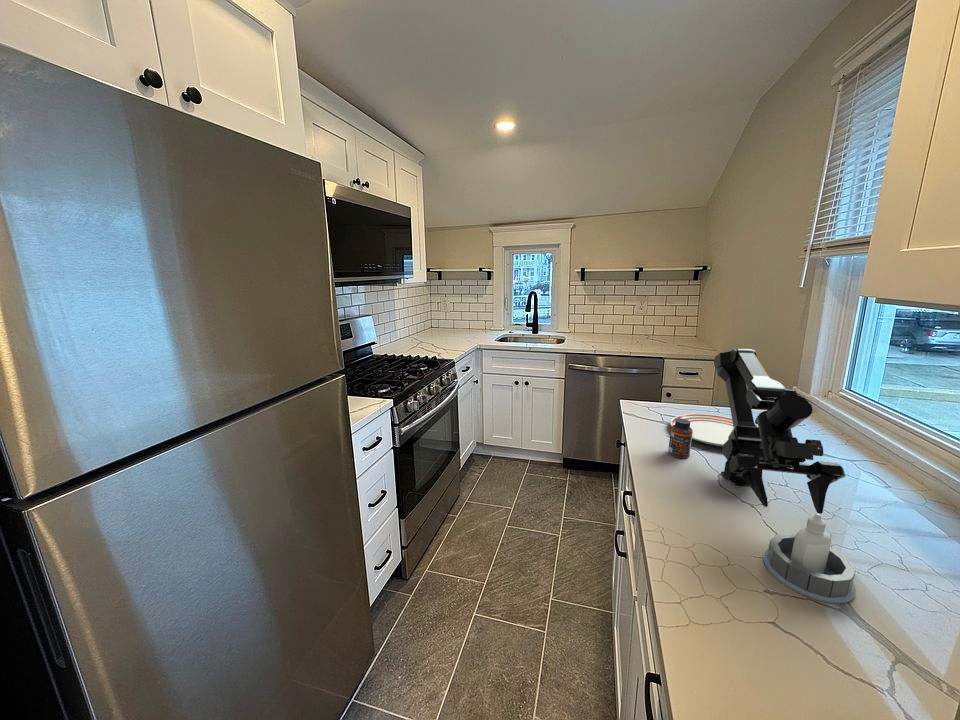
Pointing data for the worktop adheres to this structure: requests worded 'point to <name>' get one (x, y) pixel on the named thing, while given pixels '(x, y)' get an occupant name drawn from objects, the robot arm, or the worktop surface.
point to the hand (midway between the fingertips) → (792, 509)
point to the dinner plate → (708, 427)
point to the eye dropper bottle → (812, 545)
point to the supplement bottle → (680, 439)
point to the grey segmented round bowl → (811, 572)
